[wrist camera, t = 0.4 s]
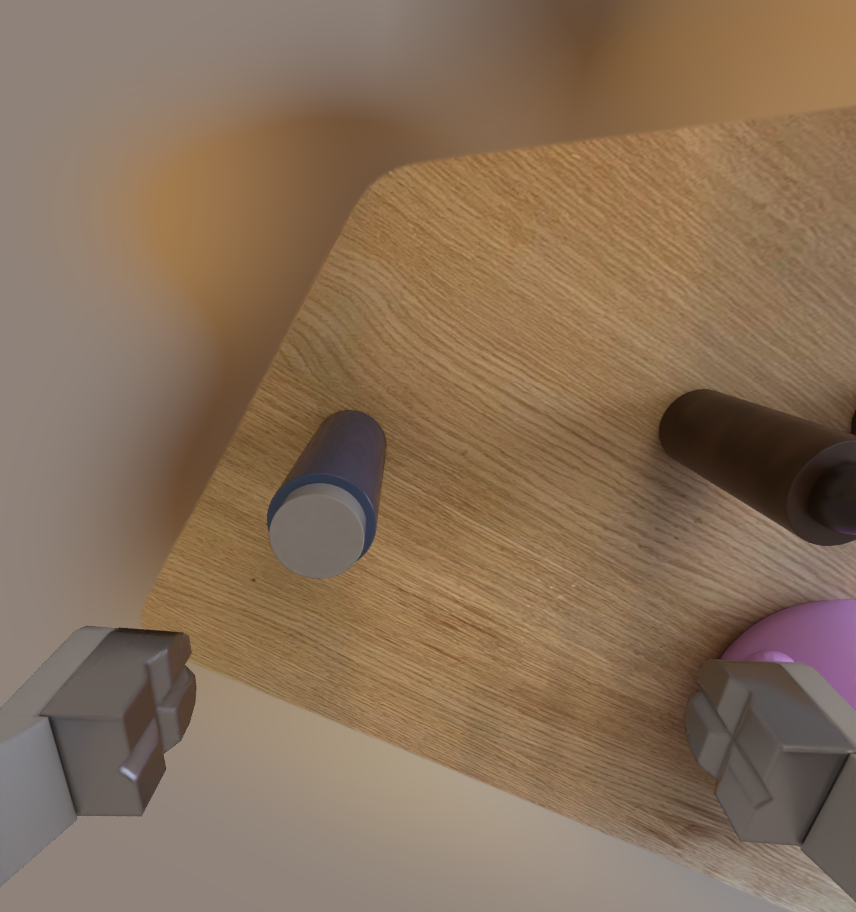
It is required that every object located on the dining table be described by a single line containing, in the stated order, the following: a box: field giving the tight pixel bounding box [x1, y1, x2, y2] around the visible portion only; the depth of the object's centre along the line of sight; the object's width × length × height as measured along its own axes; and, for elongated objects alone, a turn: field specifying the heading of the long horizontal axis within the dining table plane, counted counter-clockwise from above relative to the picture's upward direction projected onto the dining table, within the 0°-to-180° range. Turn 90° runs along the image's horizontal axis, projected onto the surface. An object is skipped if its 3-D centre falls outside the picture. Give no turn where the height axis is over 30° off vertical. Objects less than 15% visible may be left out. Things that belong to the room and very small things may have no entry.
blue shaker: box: [267, 410, 387, 579], centre depth 25 cm, size 4×4×12 cm
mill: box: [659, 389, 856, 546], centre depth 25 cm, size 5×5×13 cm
